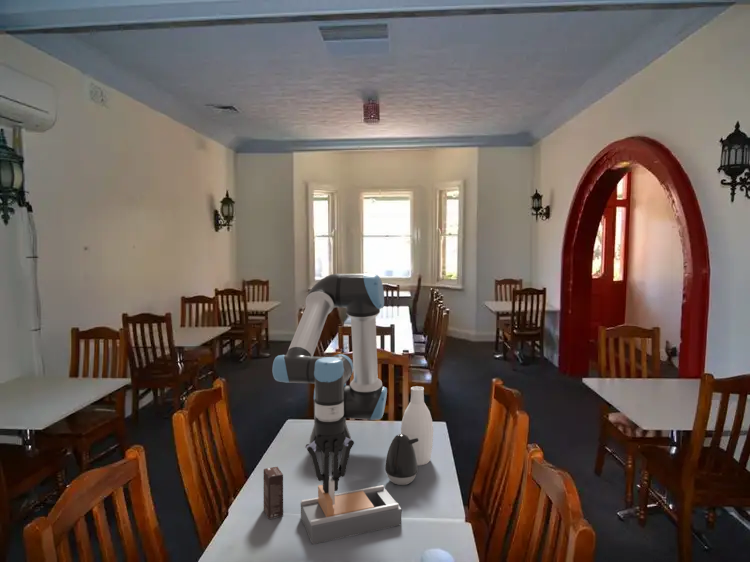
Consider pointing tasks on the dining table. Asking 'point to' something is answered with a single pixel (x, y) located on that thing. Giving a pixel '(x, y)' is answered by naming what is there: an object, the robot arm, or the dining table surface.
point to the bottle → (418, 425)
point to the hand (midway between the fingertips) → (330, 502)
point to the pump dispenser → (401, 460)
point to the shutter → (342, 502)
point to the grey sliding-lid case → (351, 517)
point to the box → (273, 492)
